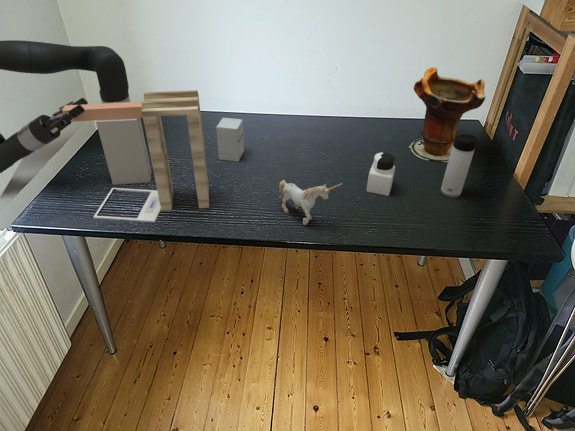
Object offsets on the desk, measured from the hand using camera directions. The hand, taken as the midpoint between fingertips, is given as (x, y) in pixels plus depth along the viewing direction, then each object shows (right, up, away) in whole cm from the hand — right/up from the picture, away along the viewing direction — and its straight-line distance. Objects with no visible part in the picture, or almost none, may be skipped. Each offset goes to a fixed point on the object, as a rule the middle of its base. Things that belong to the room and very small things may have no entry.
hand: (83, 104), depth 131 cm
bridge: (+27, -27, +9) cm, 39 cm away
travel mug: (+110, -25, +14) cm, 114 cm away
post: (+8, -20, +17) cm, 28 cm away
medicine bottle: (+88, -23, +16) cm, 92 cm away
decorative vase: (+112, -8, +35) cm, 117 cm away
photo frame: (+12, -29, +7) cm, 32 cm away
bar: (+6, -3, +3) cm, 8 cm away
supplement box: (+39, -11, +30) cm, 50 cm away
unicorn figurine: (+64, -31, +5) cm, 72 cm away
